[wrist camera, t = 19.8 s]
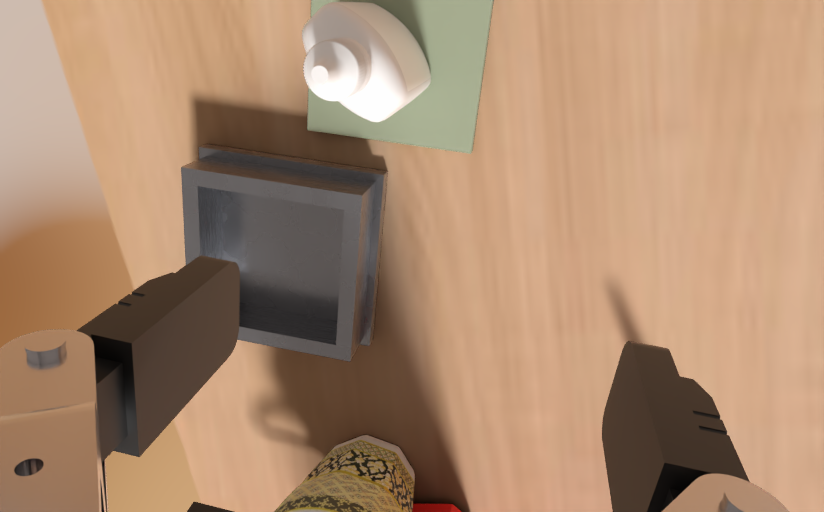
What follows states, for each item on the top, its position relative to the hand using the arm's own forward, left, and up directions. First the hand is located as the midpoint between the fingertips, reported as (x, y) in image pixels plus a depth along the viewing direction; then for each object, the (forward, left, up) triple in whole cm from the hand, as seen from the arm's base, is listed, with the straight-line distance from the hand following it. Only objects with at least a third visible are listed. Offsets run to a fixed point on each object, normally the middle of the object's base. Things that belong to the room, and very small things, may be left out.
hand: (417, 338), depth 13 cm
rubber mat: (-3, -6, -25) cm, 26 cm away
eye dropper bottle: (-3, -6, -25) cm, 26 cm away
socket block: (+10, -12, -25) cm, 30 cm away
